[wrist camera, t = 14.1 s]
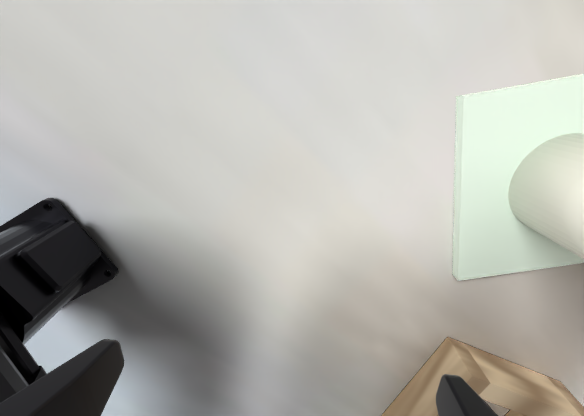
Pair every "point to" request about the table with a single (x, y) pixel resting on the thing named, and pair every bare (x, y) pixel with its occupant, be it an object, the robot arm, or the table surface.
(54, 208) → the robot arm
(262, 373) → the table surface
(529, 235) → the pad
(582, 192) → the white tall cylinder
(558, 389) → the collar
